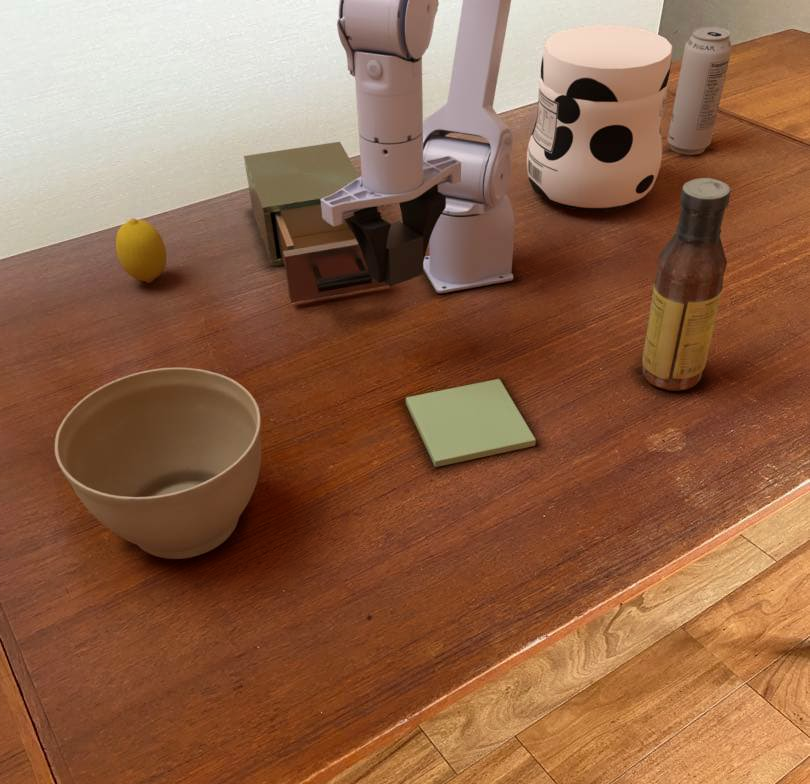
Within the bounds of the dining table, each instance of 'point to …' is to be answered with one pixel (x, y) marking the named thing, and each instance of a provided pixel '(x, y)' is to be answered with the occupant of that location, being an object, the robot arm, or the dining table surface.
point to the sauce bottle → (687, 289)
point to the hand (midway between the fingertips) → (396, 270)
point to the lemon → (141, 250)
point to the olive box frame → (294, 183)
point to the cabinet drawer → (319, 255)
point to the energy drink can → (699, 90)
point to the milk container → (599, 117)
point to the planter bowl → (164, 458)
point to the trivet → (469, 422)
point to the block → (403, 254)
